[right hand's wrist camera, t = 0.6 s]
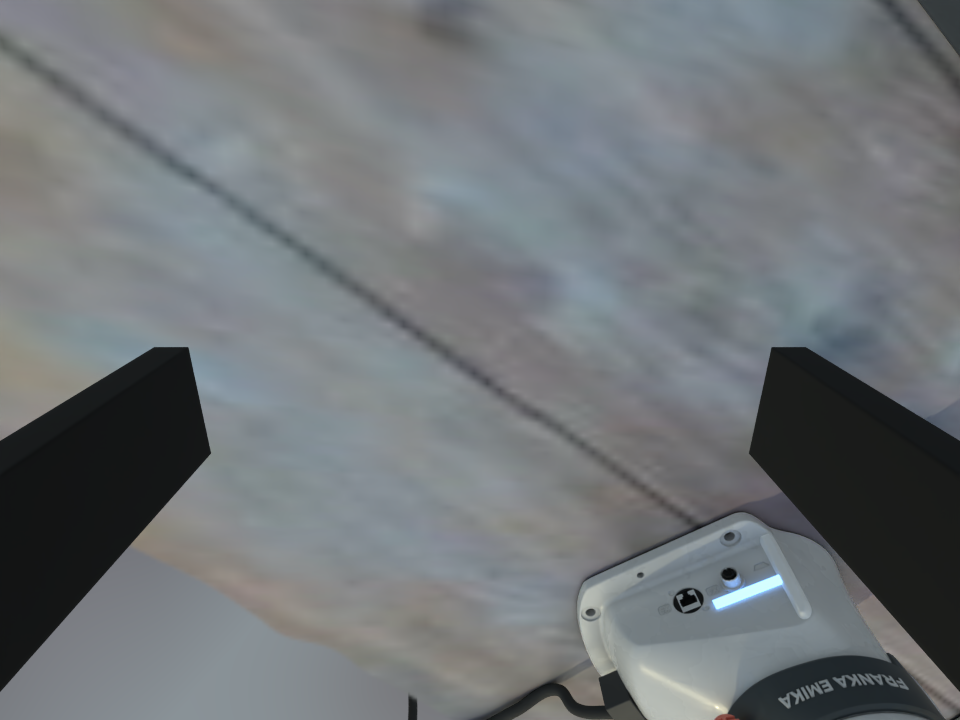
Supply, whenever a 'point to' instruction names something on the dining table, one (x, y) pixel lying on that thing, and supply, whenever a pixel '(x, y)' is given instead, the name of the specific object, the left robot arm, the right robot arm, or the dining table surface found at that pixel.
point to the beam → (945, 18)
